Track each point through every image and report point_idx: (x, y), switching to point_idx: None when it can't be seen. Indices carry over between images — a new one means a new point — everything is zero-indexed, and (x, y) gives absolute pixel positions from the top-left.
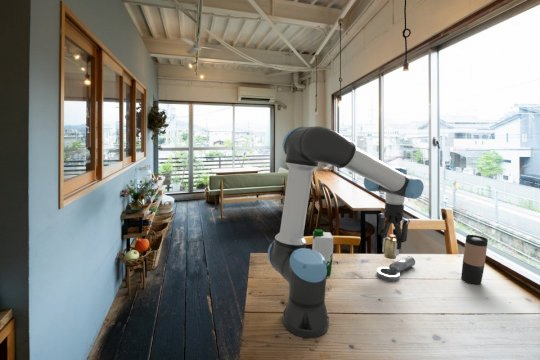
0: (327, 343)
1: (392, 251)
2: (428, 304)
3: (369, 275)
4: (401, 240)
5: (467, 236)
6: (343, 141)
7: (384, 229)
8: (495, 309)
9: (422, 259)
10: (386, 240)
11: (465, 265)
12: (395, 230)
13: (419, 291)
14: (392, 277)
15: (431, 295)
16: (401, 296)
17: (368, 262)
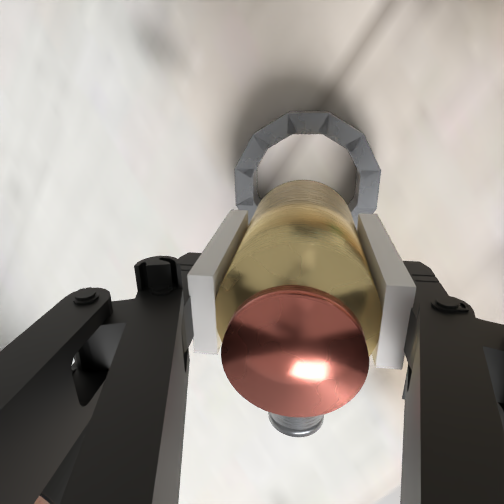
0: None
1: (254, 218)
2: (4, 70)
3: (391, 74)
4: (93, 300)
5: None
6: None
7: (468, 406)
8: None
9: (294, 488)
10: (337, 249)
11: None
12: (152, 422)
13: (107, 163)
14: (248, 143)
15: (58, 177)
16: (112, 6)
17: (497, 251)
